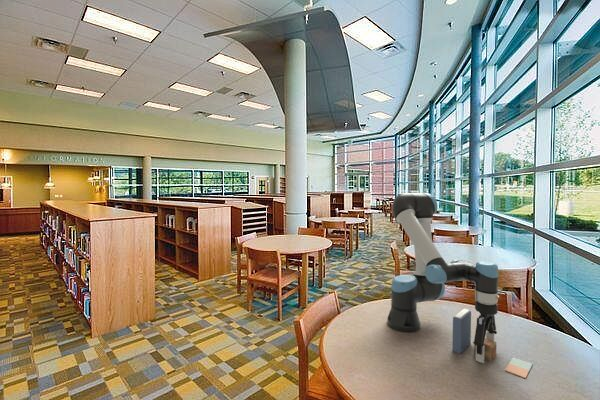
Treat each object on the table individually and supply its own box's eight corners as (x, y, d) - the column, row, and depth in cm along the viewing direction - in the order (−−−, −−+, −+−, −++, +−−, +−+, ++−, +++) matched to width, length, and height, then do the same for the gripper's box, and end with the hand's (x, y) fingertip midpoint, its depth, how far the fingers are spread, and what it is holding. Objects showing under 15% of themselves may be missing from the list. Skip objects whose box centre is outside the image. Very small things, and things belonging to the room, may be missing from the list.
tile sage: (509, 364, 110) (509, 363, 110) (512, 358, 114) (513, 357, 114) (529, 371, 105) (529, 370, 105) (532, 364, 110) (532, 363, 110)
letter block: (473, 355, 116) (474, 340, 116) (478, 349, 120) (479, 335, 120) (492, 362, 111) (492, 346, 111) (496, 356, 115) (496, 341, 115)
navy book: (452, 350, 119) (453, 316, 119) (462, 340, 127) (463, 307, 127) (460, 353, 117) (461, 318, 116) (470, 343, 125) (471, 310, 124)
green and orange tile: (504, 370, 106) (504, 369, 106) (509, 364, 110) (509, 363, 110) (525, 378, 101) (525, 377, 101) (529, 371, 105) (529, 370, 105)
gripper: (487, 313, 104) (486, 372, 105) (505, 296, 121) (504, 347, 121) (464, 307, 109) (463, 363, 110) (484, 291, 126) (483, 340, 127)
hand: (485, 355), depth 116 cm, fingers open, 12 cm apart
